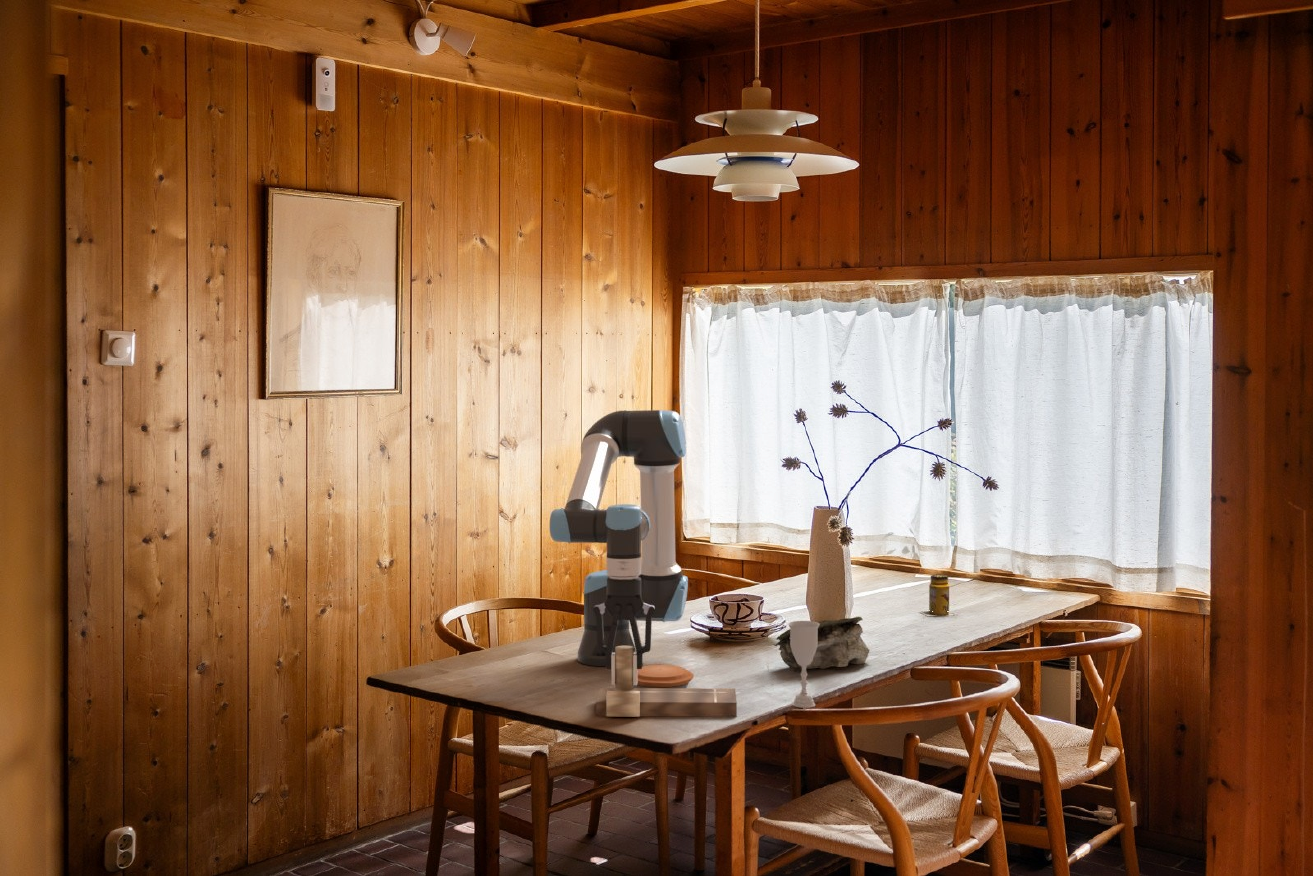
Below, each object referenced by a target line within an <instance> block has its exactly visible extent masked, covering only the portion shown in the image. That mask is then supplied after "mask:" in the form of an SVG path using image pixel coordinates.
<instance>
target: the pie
mask: <svg viewBox="0 0 1313 876" xmlns="http://www.w3.org/2000/svg"><path fill="white" fill-rule="evenodd" d="M694 675H695V674H694V673H693V672H692V671H690V670H688V669H687V668H685V667H682V666H678V665H671V664H650V665H649V664H648V665H644V666H642V669H637V685H634V688H688V685H689V684H690V682H691V681H692V680H693V679H694Z"/></svg>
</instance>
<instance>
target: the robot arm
mask: <svg viewBox="0 0 1313 876" xmlns="http://www.w3.org/2000/svg"><path fill="white" fill-rule="evenodd" d="M682 420H683V419H682V417H681V415H680V414H679V413H678V412H676V411H675V410H664V409H652V410H651V409H649V410H647V409H646V410H625V409H624V410H616V411H612V412H610V413H607V414H605V416H602V417H601V418H600V419H598V420H597V421H596V422H594V423H593V424H592V426H590V427H589V428H588V430H587V431H586V433H584V434H585V435H584V437H583V439H582V440H581V441H582V442H581V443H580V453H581V457H580V460H579V464H578V467H577V469H576V473H575V476H574V479H573V482H572V485H571V488H570V491H569V493H568V494H569V495H568V497H567V499H566V503H565V506H564V508H557V509H556V508H555V509H554V510H552V512H551V514H550V517H549V533H550V537H551V539H552V540H553V541H554V542H557V543H567V544H571V543H572V544H573V543H575V544H581V543H583V544H585V543H586V544H587V543H588V544H592V543H593V544H606V569H603V570H598V571H594V572H591V573H589V574H588V575H586V576H585V578H584V583H583V584H584V585H583V591H582V594H583V624H584V625H583V627H584V629H583V634H582V637H581V639H580V640H581V641H580V642H579V647H578V650H577V662H578V663H581V664H583V665H587V666H592V667H593V666H594V667H606V669H607V670H611V671H610V672H611V673H610V674H611V686H615V647H617V646H632V647H634V654H633V685H637V669H642V667H643V663H644V662H643V660H644V659H643V654H645V653H649V652H650V651H651V647H652V623H653V622H662V623H665V622H678V621H680V620H681V619H682V617H683V615H684V613H685V612H684V611H685V609H686V604H687V598H688V589H689V578H688V576H686V575H683V574H682V573H683V572H682V571H683V569H682V566H680V565H679V564H678V563H677V561H676V520H675V519H676V518H675V516H676V512H675V511H676V510H675V472H674V471H675V469H676V468H677V467H678V466H679V465H681V459H682V458H684V457H686V453H687V446H686V444H687V443H686V435H685V434H686V433H685V428H684V424H683V421H682ZM619 457H625V458H626V457H627V458H628V457H629V458H630V457H631V458H633V465H634V466H635V467H636V468H637V469H638V470H639V474H640V475H639V478H640V479H639V480H640V481H639V482H640V483H639V485H640V486H639V487H640V489H639V490H640V491H639V492H640V506H638V505H637V504H625V503H624V504H621V503H620V504H612V505H609V506H608V507H607V509H599V508H600V504H601V501H602V498H603V495H604V491H605V488H606V485H607V481H608V478H609V474H610V471H611V468H612V464H614V463H615V462H616V461H617V459H618V458H619ZM680 458H681V459H680ZM638 622H645V630H644V633H645V634H644V645H643V644H642V640H641V636H640V632H639V626H638ZM630 629H631V632H630ZM631 633H632V634H631Z"/></svg>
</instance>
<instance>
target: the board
mask: <svg viewBox="0 0 1313 876" xmlns="http://www.w3.org/2000/svg"><path fill="white" fill-rule="evenodd" d="M607 691H618V690H616V689H615V687H611V688H610V687H601V688H600V690H599V693H598V696H597V699H596V704H595V705H596V706H595V708H596V709H595V710H596V712H595V713H596V715H595V716H597V717H599V716H600V717H602V716H604V717H608V716H607V714H606V693H607ZM631 691H640V716H639V717H733V718H735V717H738V716H737V713H738V712H737V711H738V710H737V706H738V702H737V694H736V688H717V687H716V688H715V687H714V688H697V687H696V688H689V687H686V688H635V687H634V689H633V690H631Z"/></svg>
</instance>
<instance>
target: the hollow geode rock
mask: <svg viewBox="0 0 1313 876" xmlns="http://www.w3.org/2000/svg"><path fill="white" fill-rule="evenodd" d="M863 620H864V619H863V618H862V616H855V617H851V618H841V619H830V620H829V619H827V620H826V619H825V620H821V621H820V620H819V621H817V622H818V623H819V624H820V625H819V627H818V646H817V649H816V652H815V655H814V657H813V659H812V661H811V663H810V664H809V665H807V666H806V670H810V669H816V668H819V669H821V670H822V669H828V668H830V667H837V668H839V667H840V668H842V667H847V666H848V665H849V664H852V665H863V664H865V663H866V660H867V658H868V656H869V653H870V649H869V647H868V646H867V644H866V643H865V642H864V640H863V638H862V637H861V635H862V633H864V631H863V630H864V629H863V627H862V626H861V624H860V623H859V622H860V621H863ZM776 640H778V642H776V643H775V644H773V646H775V647H778V646H779V648H778V650H779V651H780V653H779V654H780V657H781V660H782V661H783V663H784V664H785V665H787V666H788V667H789V668H790V669H792V670H794V672H795V673H800V674H801V672H802V667H801V665H799V664H798V663H797V661H796V659H795V657H794V655H793V652H792V649H791V646H790V628H789V629H788V630H786V631H783V632H782V633H780V635H778V636H777V637H776Z"/></svg>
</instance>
